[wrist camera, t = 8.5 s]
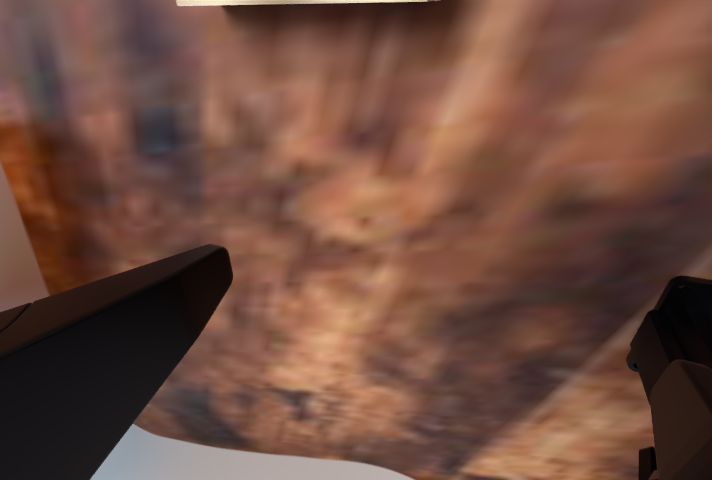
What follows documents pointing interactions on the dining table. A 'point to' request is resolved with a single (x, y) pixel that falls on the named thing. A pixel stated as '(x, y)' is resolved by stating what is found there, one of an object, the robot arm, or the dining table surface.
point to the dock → (279, 2)
